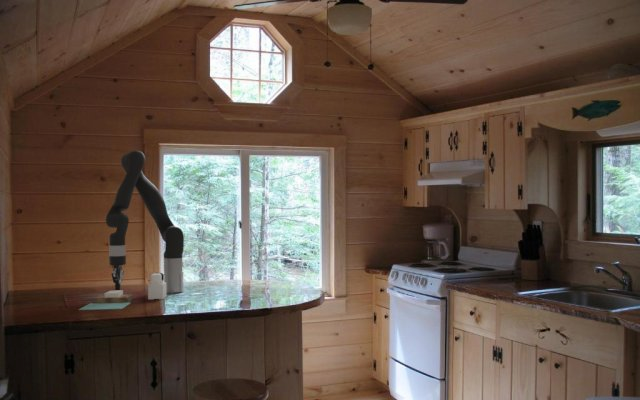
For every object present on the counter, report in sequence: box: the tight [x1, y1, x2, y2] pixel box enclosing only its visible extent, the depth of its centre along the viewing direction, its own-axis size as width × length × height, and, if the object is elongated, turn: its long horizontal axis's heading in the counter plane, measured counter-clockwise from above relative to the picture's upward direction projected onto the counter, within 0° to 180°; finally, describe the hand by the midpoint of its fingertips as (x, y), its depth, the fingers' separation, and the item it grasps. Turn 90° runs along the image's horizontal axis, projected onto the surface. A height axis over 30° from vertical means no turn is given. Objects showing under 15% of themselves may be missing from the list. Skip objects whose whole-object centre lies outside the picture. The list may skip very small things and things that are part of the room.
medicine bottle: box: [147, 272, 168, 301], centre depth 297 cm, size 7×7×12 cm
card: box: [104, 289, 124, 298], centre depth 289 cm, size 9×6×2 cm, turn 4°
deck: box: [93, 293, 134, 303], centre depth 289 cm, size 15×10×2 cm, turn 94°
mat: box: [78, 301, 132, 311], centre depth 276 cm, size 18×16×1 cm
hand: (117, 291), depth 297 cm, fingers closed
